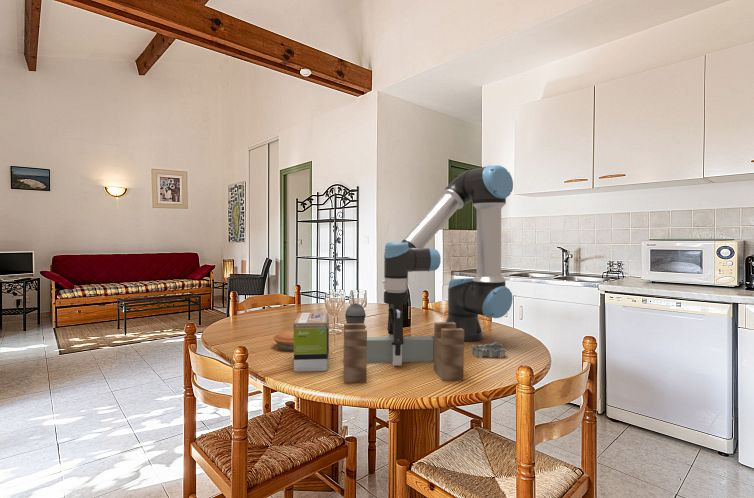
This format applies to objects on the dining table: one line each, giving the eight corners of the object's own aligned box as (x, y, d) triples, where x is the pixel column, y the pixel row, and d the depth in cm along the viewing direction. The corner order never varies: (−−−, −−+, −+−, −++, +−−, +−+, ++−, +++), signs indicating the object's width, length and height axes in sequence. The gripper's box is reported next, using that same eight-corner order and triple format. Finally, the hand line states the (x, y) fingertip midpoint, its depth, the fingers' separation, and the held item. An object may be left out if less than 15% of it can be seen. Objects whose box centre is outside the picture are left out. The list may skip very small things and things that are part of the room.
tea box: (298, 356, 135) (298, 311, 134) (329, 356, 135) (329, 311, 135) (292, 372, 120) (293, 321, 119) (327, 371, 120) (328, 321, 120)
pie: (263, 348, 143) (263, 334, 143) (292, 338, 157) (292, 325, 157) (299, 355, 136) (299, 340, 136) (326, 344, 150) (326, 330, 150)
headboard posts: (453, 368, 125) (454, 322, 124) (463, 380, 115) (464, 330, 114) (343, 370, 121) (344, 323, 121) (344, 382, 112) (344, 331, 111)
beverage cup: (362, 351, 141) (363, 293, 141) (342, 349, 143) (342, 292, 142) (367, 345, 149) (368, 290, 148) (347, 344, 150) (348, 289, 149)
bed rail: (442, 357, 136) (442, 336, 135) (445, 361, 132) (445, 339, 131) (344, 359, 132) (344, 337, 132) (344, 363, 128) (344, 340, 128)
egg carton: (501, 353, 142) (502, 341, 142) (507, 359, 135) (507, 347, 135) (470, 351, 143) (470, 340, 143) (473, 358, 136) (474, 346, 135)
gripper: (380, 286, 142) (379, 349, 143) (388, 296, 119) (387, 371, 120) (401, 286, 143) (400, 349, 144) (414, 296, 120) (412, 371, 121)
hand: (394, 359), depth 132 cm, fingers open, 11 cm apart
